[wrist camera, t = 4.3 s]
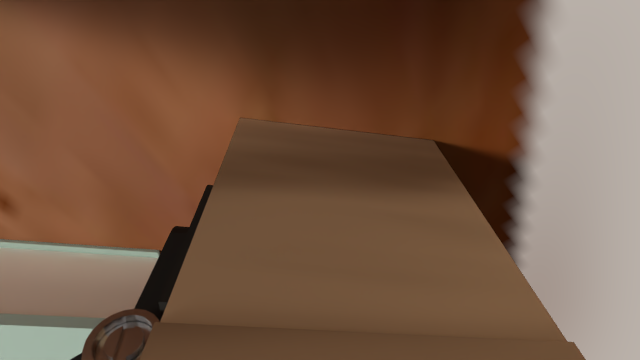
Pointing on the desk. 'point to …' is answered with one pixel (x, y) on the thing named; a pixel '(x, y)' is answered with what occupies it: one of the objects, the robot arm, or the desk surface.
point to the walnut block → (347, 259)
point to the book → (64, 294)
